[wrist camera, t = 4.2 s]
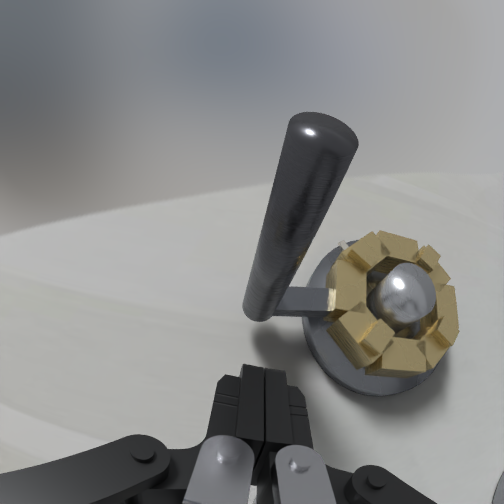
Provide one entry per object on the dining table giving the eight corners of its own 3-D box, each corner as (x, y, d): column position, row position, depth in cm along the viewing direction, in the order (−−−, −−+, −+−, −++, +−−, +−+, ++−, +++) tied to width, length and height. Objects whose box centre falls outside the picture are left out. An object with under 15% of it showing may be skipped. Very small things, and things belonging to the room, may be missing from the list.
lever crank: (433, 263, 25) (533, 155, 12) (441, 379, 19) (593, 306, 7) (259, 221, 24) (300, 49, 12) (232, 354, 19) (273, 212, 7)
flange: (431, 264, 27) (463, 233, 22) (437, 397, 20) (482, 385, 15) (309, 234, 27) (328, 192, 22) (290, 387, 20) (315, 375, 15)
